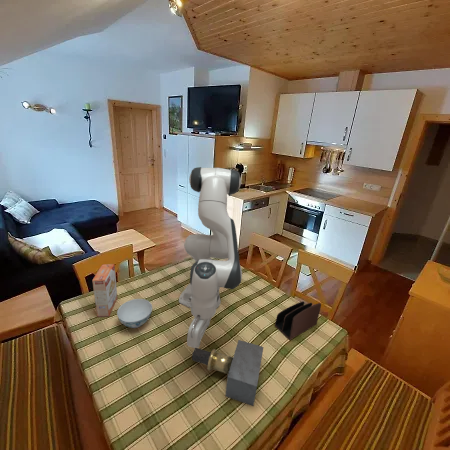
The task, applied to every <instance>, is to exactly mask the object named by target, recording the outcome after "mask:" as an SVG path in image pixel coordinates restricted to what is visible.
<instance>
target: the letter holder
mask: <svg viewBox="0 0 450 450" xmlns="http://www.w3.org/2000/svg"><path fill="white" fill-rule="evenodd" d="M321 307H322V303H321V302H319V303H316V304H313V303H312V302H309V303H308V302H307V303H306V304H305V301H299V302H297V303H295V304H292V305H291V306H289V307H287V308H285V309H283V310H281V311H280V312H279V313H277V315H276V317H275V318H276V319H275V323H274V327H275V328H276V329H277V330H278V331H279V332H280V333H281V334H283V336H285V337H286V338H287V339H288V341H291V340H292V339H294V338H296V337H297V336H299V335H301V334H303V333H304V332H307V330H309V329H311V328H313V327H314V326H316V325H317V323H318V319H319V316H320V312H321Z"/></svg>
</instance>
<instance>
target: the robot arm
mask: <svg viewBox="0 0 450 450" xmlns="http://www.w3.org/2000/svg"><path fill="white" fill-rule="evenodd" d="M188 183H189V185H190V188H191V189H192V190H193V191H194V192H197V193H199V197H198V203H197V205H198V208H197V209H198V211H197V212H198V213H197V214H198V218H199V219H200V222H201V224H202V225H203V226H204V227H205V228H207V229H208V230H210V231H211V233H212V234H204V233H201V234H200V233H194V234H193V233H192V234H189V235H188V236H186V238H185V241H184V243H183V244H184V250H185V252H186V253H187V254H188V255H189V256H190V257H191V258H192V259H193V260H194V261H195V262H194V263H193V264H192V265H191V267H190V272H189V283H188V285H187V286H186V287H185V289H184V290H183V291H182V292H181V294H180V295H179V298H178V303H179V304H180V305H182V306H184V307H188V309H190V313H191V315H192V316H193V317H194V318H193V319H192V321H191V323H190V325H189V327H188V331H187V337H186V338H187V339H186V345H187V346H188V347H190V348H193V349H195V348H199V349H200V346H201V341H202V339H203V337H204V334H205V332H206V330H207V329H208V328H209V326H210V322H211V320H212V318H213V317H214V316H215V314H216V312H217V309H218V308H219V306H220V305H221V303H222V302H221V298H220V297H221V296H220V289H221V288H224V289H229V290H235V288H237V287H238V286H239V285H240V284H241V282H242V280H243V279H242V278H243V272H242V267H241V264H240V255H239V245H238V237H237V236H238V235H237V230H236V224H235V221H234V219H233V218H232V217H231V216H229V213H228V208H227V207H228V197H231V196H232V195H235V194H236V193H238V192H239V190H240V188H241V185H242V179H241V175H240V172H239V171H238V170H235V169H227V168H222V167H201V166H200V167H194V168H193V169H192V170H191V173H190V174H189V181H188ZM216 259H221V260H216ZM222 259H223V260H222ZM224 259H226V260H224Z"/></svg>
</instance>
